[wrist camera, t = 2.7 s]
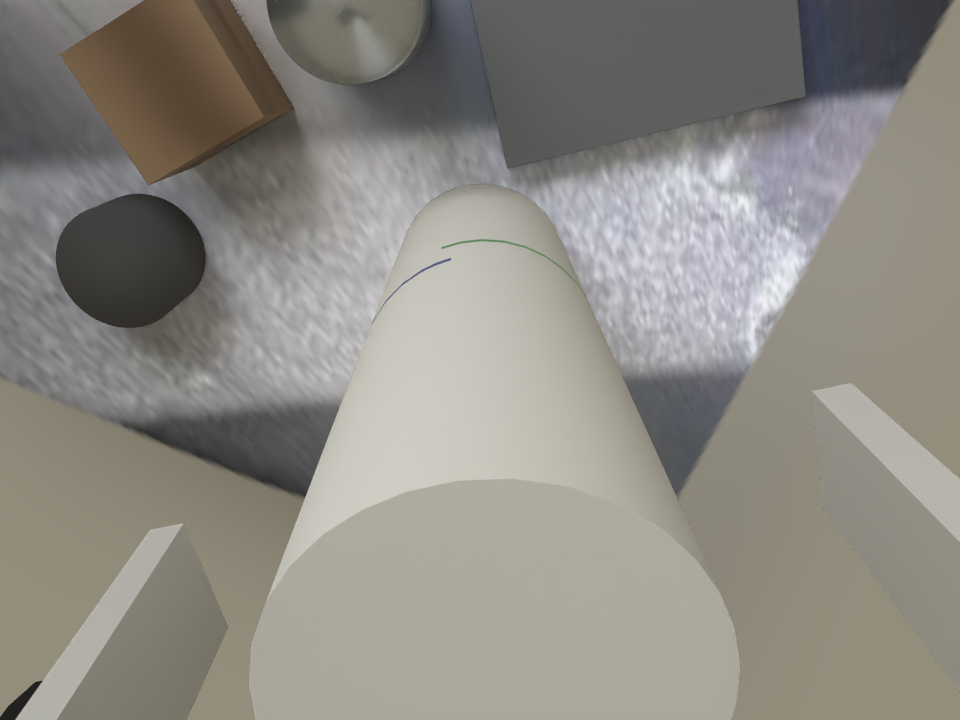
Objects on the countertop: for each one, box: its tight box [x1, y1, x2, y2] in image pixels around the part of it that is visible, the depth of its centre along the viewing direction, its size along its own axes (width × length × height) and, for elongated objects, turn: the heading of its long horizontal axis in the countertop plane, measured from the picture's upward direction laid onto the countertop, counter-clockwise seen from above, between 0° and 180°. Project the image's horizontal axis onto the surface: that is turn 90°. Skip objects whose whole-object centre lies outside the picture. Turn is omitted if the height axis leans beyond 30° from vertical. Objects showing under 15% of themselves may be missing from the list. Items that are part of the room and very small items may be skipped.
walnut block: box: [60, 0, 294, 185], centre depth 30 cm, size 5×5×5 cm
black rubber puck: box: [56, 194, 205, 328], centre depth 33 cm, size 5×5×3 cm
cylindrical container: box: [249, 184, 740, 720], centre depth 23 cm, size 7×7×25 cm
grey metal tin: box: [266, 0, 431, 85], centre depth 29 cm, size 5×5×6 cm
